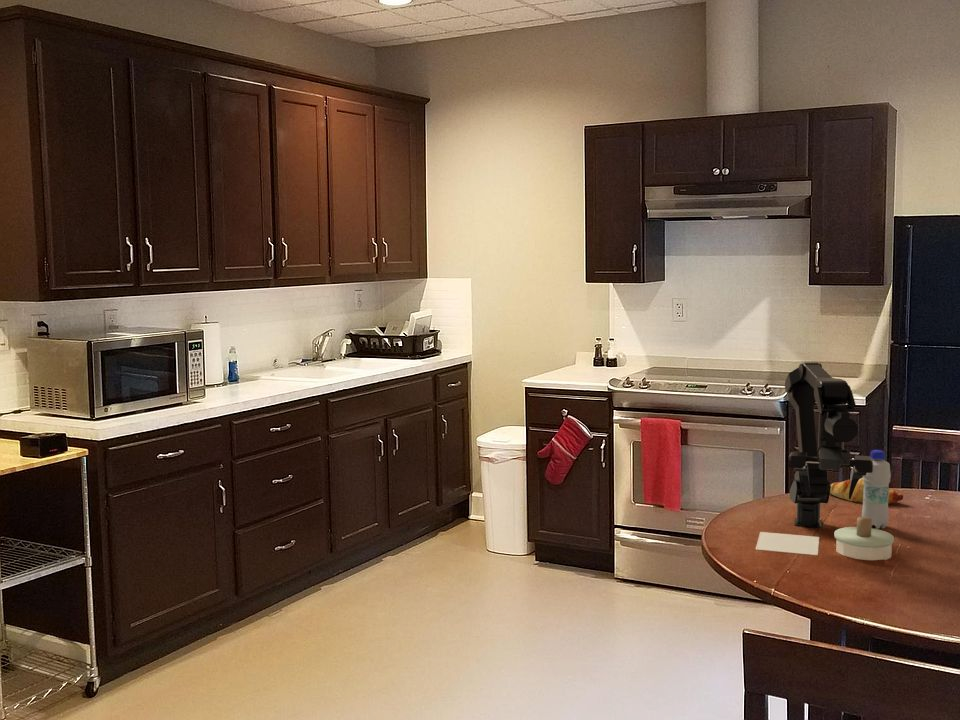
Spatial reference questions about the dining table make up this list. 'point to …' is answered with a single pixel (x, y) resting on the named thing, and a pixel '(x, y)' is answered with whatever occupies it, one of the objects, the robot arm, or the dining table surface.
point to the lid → (864, 535)
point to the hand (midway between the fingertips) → (829, 497)
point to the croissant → (859, 492)
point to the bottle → (877, 490)
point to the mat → (788, 543)
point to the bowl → (864, 551)
